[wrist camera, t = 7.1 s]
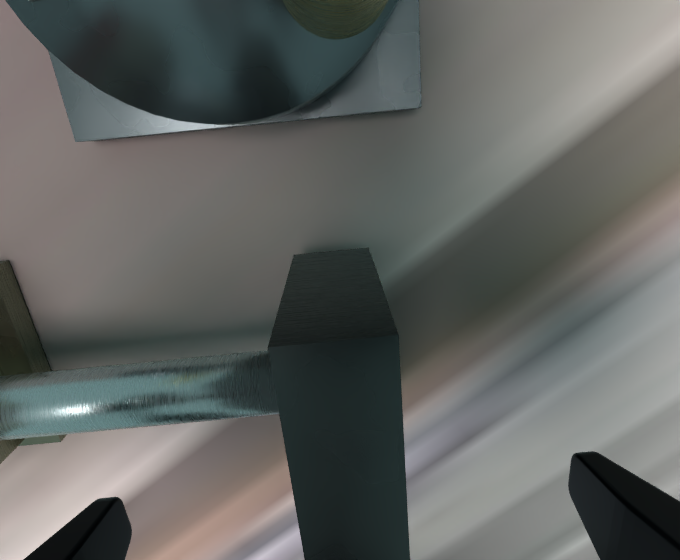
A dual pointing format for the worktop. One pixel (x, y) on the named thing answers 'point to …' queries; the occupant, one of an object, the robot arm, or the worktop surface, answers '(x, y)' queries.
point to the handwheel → (209, 51)
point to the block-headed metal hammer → (273, 403)
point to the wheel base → (343, 100)
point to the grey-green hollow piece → (18, 348)
